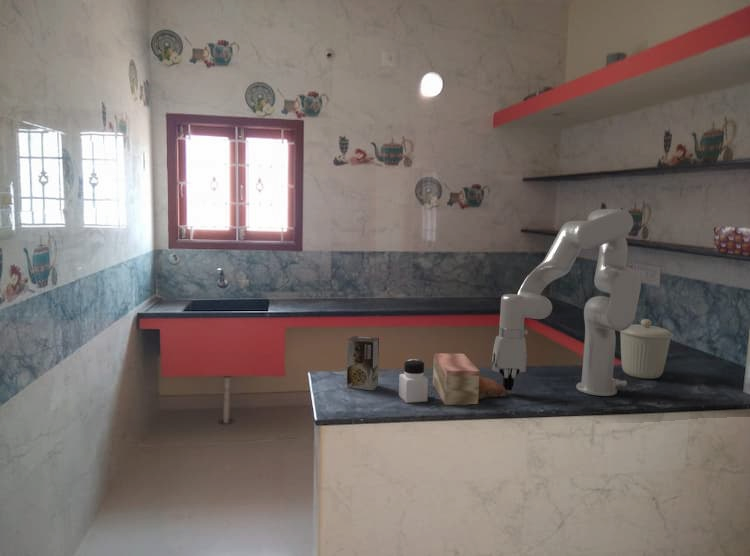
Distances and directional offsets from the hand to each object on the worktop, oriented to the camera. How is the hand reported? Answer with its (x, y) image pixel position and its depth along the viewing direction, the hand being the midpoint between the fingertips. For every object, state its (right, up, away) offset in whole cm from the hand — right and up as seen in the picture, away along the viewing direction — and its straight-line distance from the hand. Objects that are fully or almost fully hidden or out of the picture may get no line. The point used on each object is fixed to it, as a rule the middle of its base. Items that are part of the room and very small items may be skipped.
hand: (507, 388), depth 184 cm
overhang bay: (-18, -1, -1) cm, 18 cm away
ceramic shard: (-10, -2, +1) cm, 10 cm away
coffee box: (-47, 0, +3) cm, 47 cm away
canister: (+56, 0, +27) cm, 62 cm away
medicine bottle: (-31, -2, -7) cm, 32 cm away
